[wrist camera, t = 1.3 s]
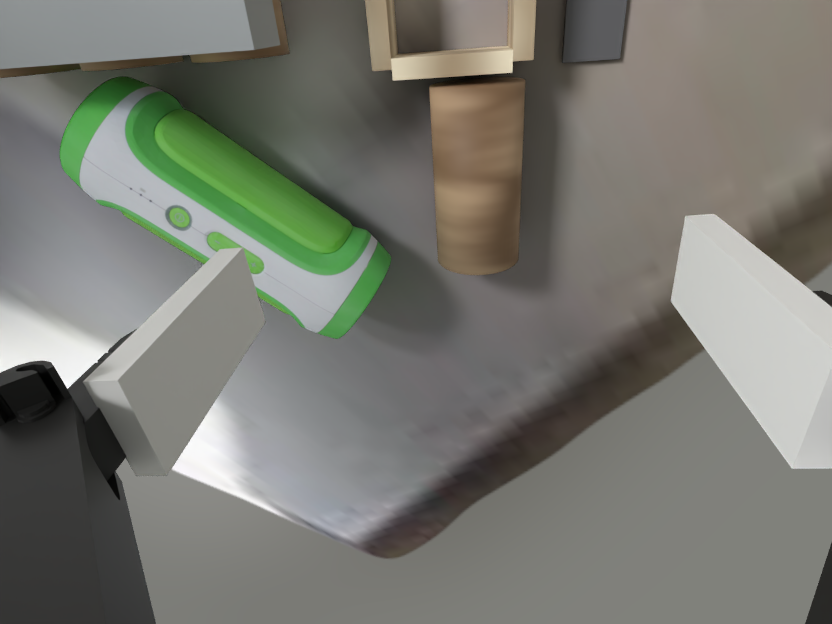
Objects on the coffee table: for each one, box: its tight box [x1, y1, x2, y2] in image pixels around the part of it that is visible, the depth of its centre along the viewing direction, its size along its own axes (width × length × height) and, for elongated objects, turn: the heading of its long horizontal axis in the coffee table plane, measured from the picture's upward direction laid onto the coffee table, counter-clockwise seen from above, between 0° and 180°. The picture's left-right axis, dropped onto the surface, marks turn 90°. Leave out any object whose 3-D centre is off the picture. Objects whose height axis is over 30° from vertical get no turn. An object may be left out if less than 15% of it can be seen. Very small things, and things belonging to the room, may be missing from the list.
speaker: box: [60, 77, 391, 339], centre depth 30 cm, size 18×7×8 cm, turn 54°
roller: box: [429, 77, 525, 275], centre depth 29 cm, size 5×10×5 cm, turn 4°
